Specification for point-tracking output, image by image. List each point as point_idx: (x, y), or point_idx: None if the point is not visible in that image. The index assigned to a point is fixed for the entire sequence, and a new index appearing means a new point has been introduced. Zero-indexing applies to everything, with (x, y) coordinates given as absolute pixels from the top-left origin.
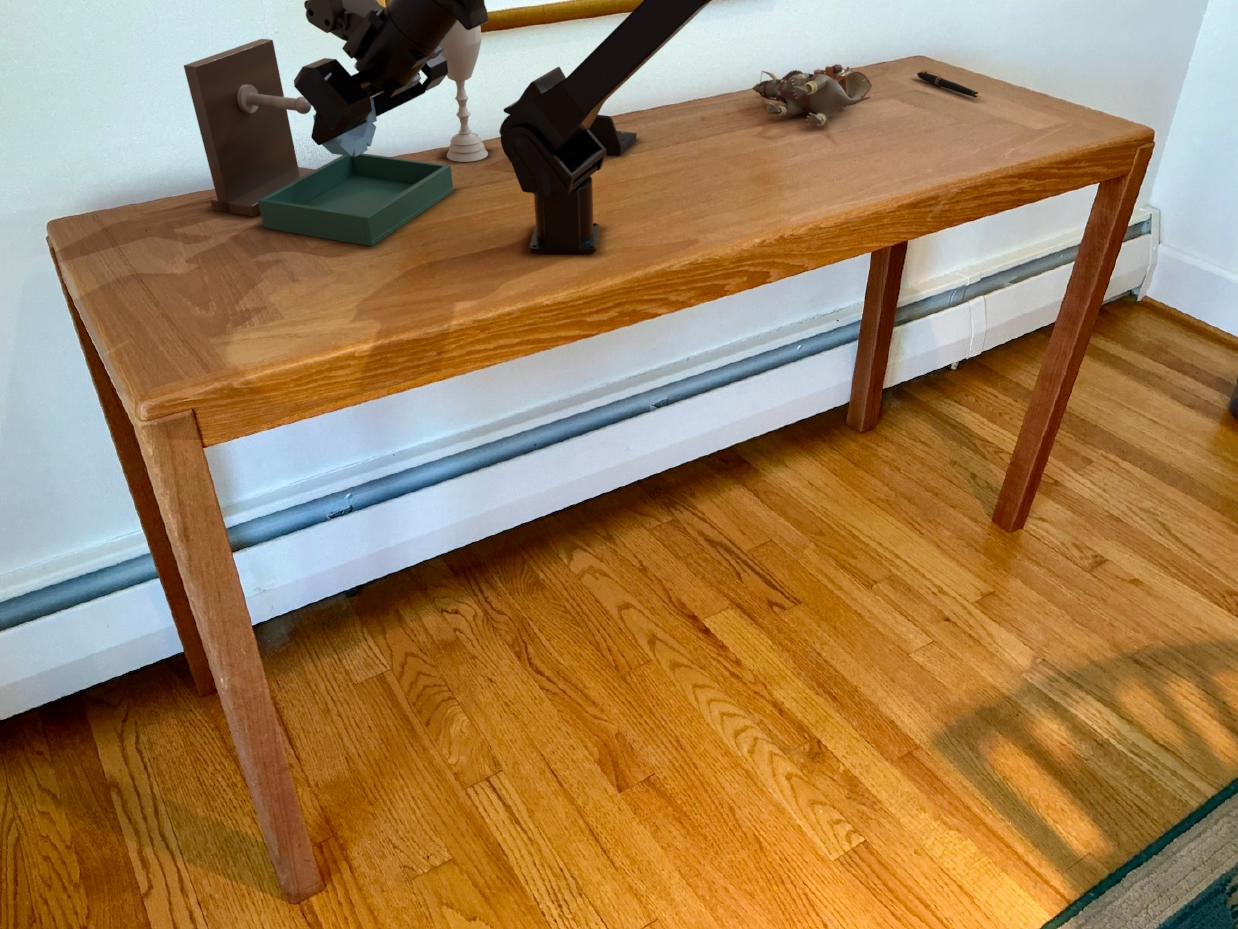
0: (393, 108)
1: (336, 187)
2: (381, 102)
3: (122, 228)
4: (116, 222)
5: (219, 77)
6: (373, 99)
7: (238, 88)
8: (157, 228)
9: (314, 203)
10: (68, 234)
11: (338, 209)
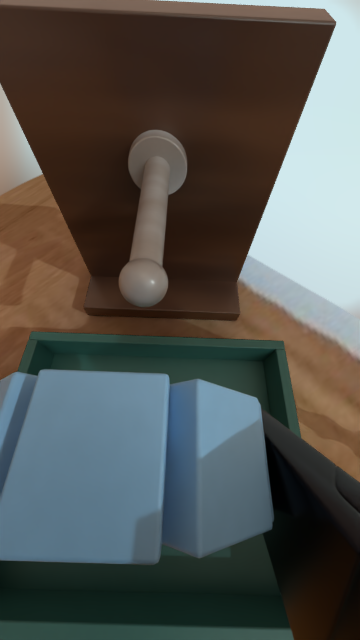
0: (292, 634)
1: (206, 364)
2: (286, 560)
3: (37, 218)
4: (52, 206)
5: (73, 80)
6: (272, 521)
7: (139, 133)
8: (40, 243)
9: (136, 371)
10: (18, 191)
11: None
